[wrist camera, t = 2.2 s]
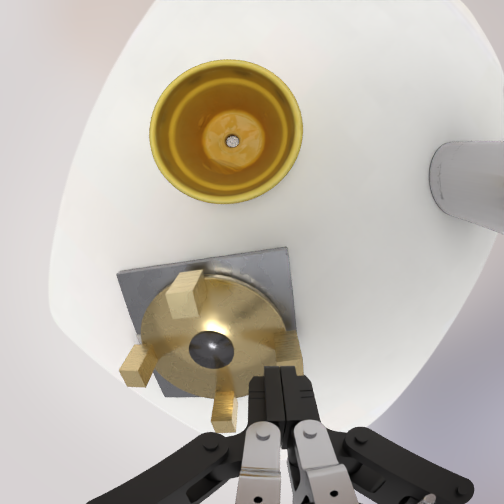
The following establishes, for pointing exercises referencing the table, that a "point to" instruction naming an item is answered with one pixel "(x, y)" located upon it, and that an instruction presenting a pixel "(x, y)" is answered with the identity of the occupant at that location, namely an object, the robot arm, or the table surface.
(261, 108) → the plant pot
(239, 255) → the flange plate
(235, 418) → the pegged brass disc
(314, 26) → the table surface
